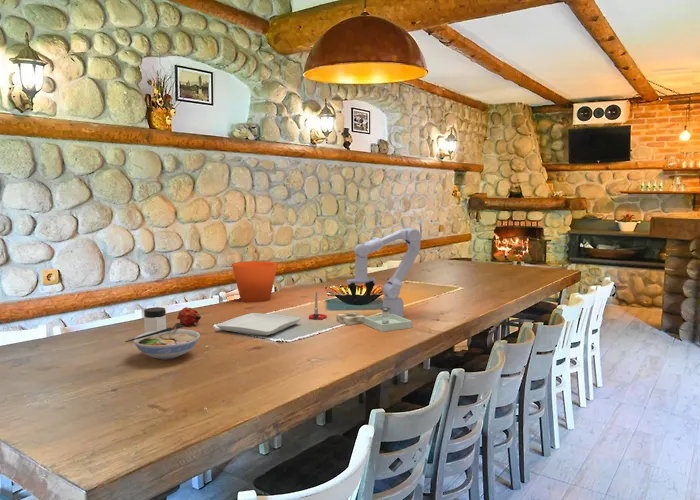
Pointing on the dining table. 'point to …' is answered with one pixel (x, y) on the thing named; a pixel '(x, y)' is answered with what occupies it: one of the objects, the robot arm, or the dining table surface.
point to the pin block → (350, 318)
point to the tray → (394, 324)
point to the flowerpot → (255, 279)
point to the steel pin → (385, 315)
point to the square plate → (258, 323)
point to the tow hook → (316, 311)
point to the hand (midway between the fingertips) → (361, 298)
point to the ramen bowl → (166, 342)
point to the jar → (154, 319)
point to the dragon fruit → (188, 316)
